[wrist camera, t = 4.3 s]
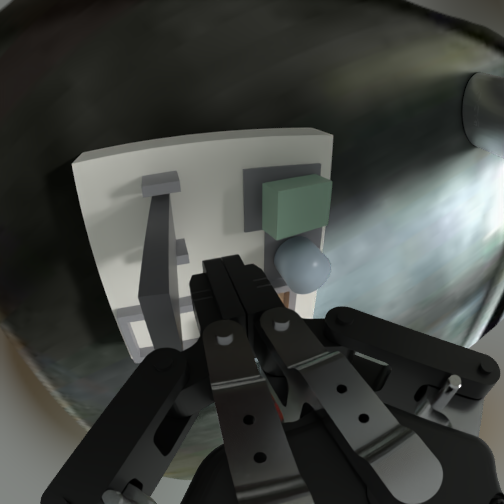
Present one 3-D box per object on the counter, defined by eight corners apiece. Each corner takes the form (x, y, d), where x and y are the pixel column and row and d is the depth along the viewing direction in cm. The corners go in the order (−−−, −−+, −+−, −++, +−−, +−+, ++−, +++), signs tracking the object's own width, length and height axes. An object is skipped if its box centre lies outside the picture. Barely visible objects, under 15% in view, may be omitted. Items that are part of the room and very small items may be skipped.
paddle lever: (169, 191, 17) (169, 293, 9) (175, 238, 18) (184, 355, 11) (152, 194, 16) (138, 297, 9) (159, 240, 18) (157, 358, 11)
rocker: (315, 173, 19) (332, 181, 18) (312, 215, 21) (327, 225, 20) (262, 183, 17) (278, 191, 16) (262, 229, 19) (276, 240, 18)
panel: (311, 127, 21) (350, 141, 17) (298, 299, 29) (322, 334, 25) (82, 152, 17) (62, 173, 13) (130, 333, 25) (132, 377, 21)
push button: (316, 233, 22) (334, 249, 20) (312, 270, 23) (327, 288, 21) (274, 240, 21) (289, 258, 19) (273, 278, 22) (286, 298, 20)
